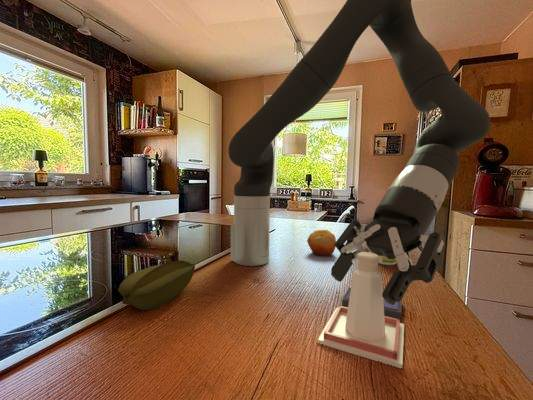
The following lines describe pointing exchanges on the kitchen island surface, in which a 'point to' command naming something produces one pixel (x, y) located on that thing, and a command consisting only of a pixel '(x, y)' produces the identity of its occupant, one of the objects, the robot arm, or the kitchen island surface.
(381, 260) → the supplement bottle
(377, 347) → the pink and white tray
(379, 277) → the pepper shaker
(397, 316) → the ink pad
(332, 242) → the fruit
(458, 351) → the kitchen island surface
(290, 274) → the kitchen island surface
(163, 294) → the fruit
